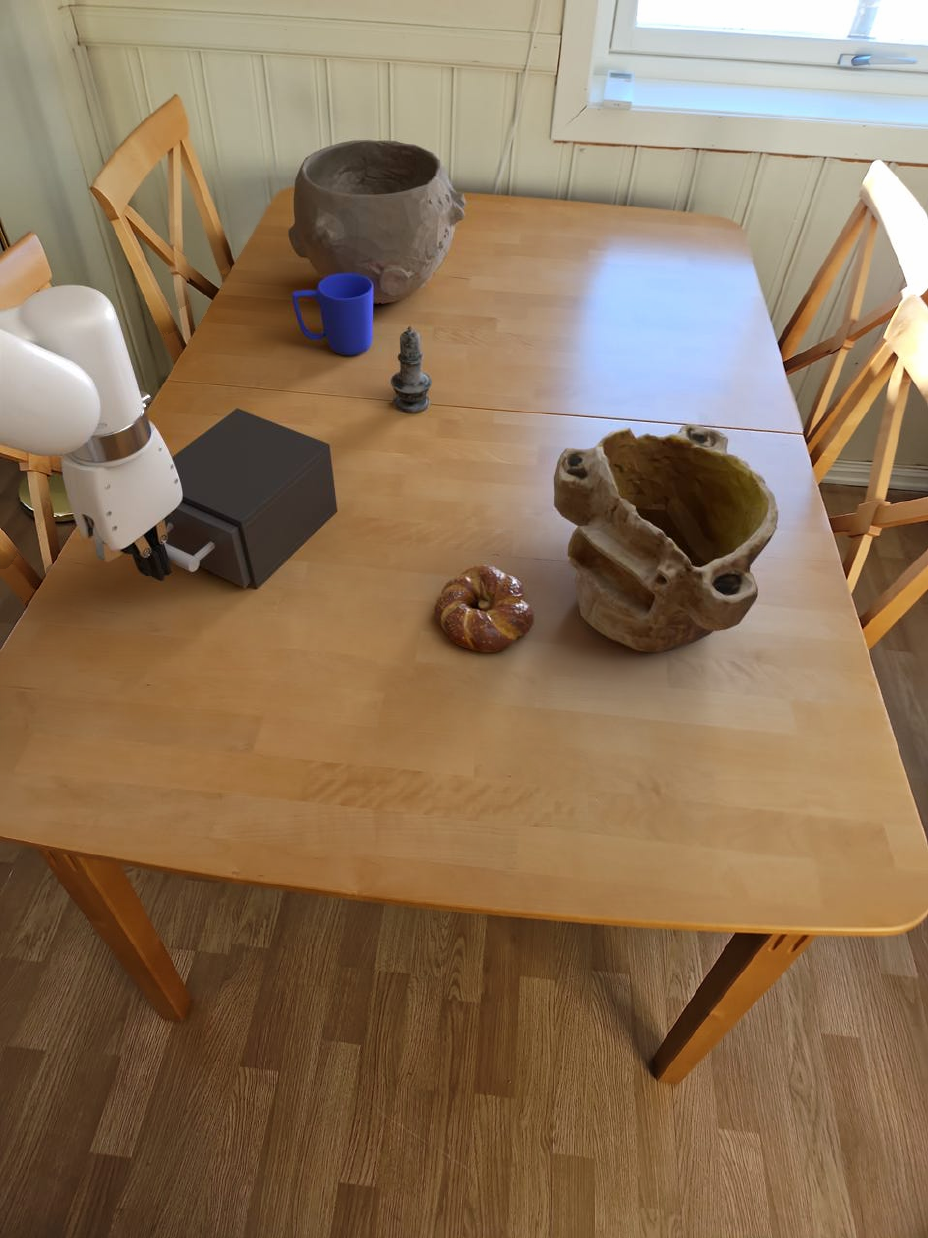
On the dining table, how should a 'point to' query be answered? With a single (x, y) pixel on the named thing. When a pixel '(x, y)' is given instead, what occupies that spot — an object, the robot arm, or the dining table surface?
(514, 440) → the dining table surface
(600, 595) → the ceramic vessel
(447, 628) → the pretzel
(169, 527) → the drawer
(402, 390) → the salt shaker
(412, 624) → the dining table surface
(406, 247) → the bowl
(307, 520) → the cabinet
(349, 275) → the mug
